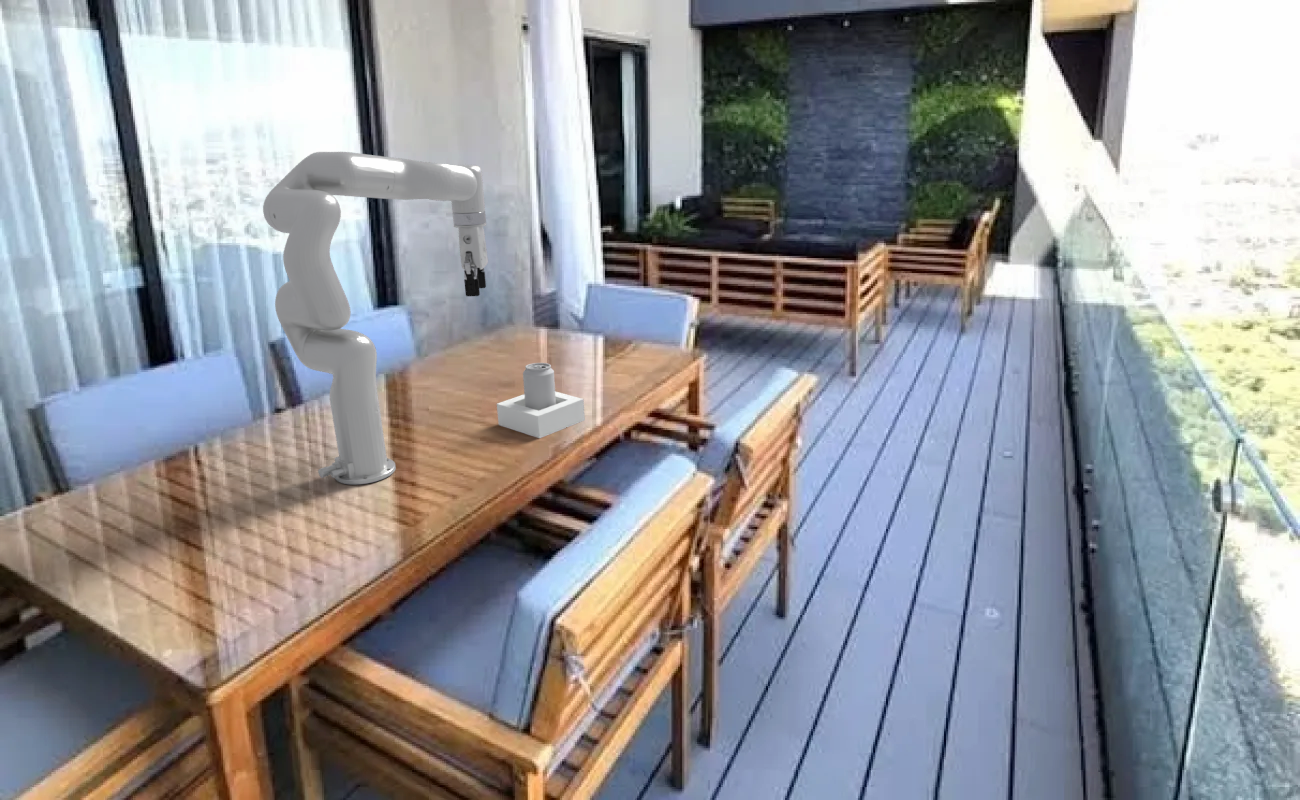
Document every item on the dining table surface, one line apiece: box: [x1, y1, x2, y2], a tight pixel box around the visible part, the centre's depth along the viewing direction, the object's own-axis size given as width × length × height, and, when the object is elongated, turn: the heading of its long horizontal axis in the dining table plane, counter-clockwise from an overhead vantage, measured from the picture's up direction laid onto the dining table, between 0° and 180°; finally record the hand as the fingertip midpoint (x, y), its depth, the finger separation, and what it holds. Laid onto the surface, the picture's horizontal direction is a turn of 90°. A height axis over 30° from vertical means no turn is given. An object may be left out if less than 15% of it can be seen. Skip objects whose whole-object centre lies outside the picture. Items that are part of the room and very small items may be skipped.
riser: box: [496, 390, 586, 439], centre depth 207 cm, size 15×15×6 cm
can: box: [522, 362, 556, 411], centre depth 205 cm, size 8×8×12 cm
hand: (476, 291), depth 202 cm, fingers open, 9 cm apart
